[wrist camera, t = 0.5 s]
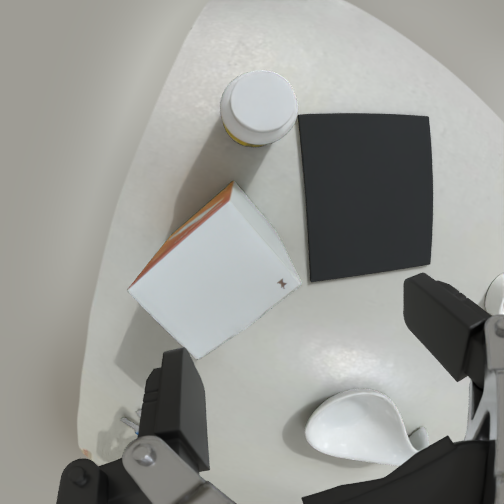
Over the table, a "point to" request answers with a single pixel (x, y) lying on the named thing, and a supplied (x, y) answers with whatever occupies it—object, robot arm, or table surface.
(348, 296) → the table surface
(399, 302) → the table surface
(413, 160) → the mat
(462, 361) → the robot arm
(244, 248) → the small box
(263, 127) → the supplement bottle
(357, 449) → the spoon rest
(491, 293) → the knuckle duster
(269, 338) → the table surface
